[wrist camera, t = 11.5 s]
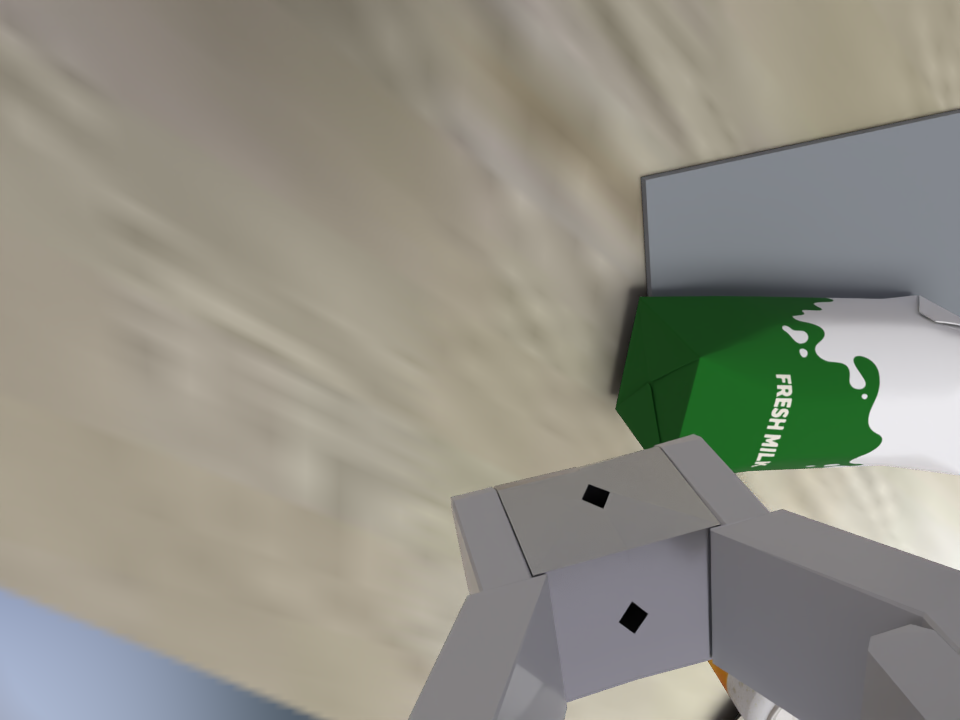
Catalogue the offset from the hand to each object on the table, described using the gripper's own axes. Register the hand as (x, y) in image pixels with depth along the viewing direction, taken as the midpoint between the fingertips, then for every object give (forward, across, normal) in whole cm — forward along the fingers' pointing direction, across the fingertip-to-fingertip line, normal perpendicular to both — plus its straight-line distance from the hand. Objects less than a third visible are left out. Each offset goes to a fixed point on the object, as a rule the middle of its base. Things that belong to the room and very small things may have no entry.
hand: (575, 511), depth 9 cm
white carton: (+26, -11, +15) cm, 32 cm away
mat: (+31, -24, +14) cm, 42 cm away
